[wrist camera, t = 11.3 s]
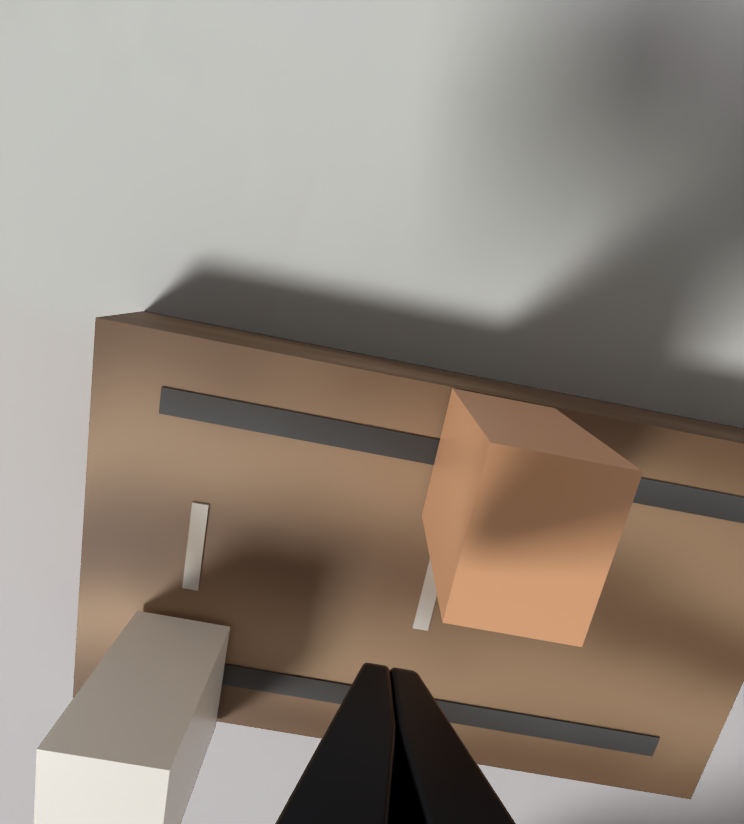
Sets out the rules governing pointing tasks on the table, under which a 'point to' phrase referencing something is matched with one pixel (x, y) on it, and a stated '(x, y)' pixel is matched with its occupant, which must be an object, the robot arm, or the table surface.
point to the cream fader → (135, 727)
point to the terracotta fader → (523, 518)
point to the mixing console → (397, 552)
